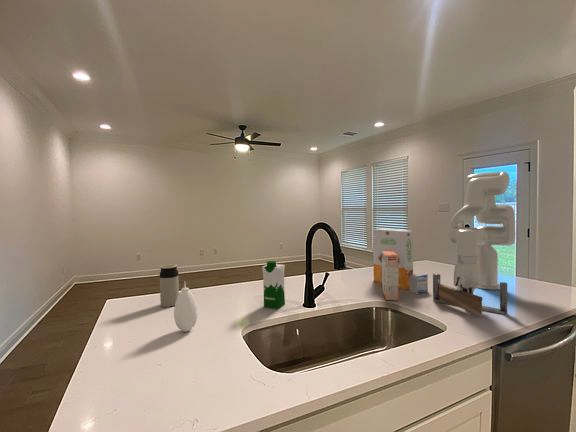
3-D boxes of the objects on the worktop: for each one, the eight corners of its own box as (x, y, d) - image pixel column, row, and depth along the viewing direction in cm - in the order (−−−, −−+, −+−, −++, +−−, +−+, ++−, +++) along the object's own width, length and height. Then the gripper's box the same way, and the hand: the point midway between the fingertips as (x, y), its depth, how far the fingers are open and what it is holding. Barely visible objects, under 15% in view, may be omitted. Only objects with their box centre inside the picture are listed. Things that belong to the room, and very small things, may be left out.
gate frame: (434, 299, 135) (434, 273, 134) (508, 312, 117) (507, 282, 116) (432, 301, 132) (432, 274, 132) (506, 314, 114) (506, 284, 113)
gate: (442, 298, 130) (441, 284, 130) (482, 314, 111) (482, 297, 111) (438, 299, 130) (438, 284, 130) (478, 314, 110) (478, 297, 110)
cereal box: (413, 288, 153) (412, 230, 152) (404, 289, 151) (404, 231, 150) (381, 279, 173) (381, 228, 173) (373, 280, 171) (372, 229, 170)
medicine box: (417, 294, 143) (417, 276, 143) (409, 291, 147) (409, 274, 147) (428, 291, 147) (428, 274, 146) (420, 289, 151) (420, 272, 150)
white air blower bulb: (184, 337, 100) (182, 284, 100) (170, 332, 104) (168, 282, 104) (202, 328, 107) (200, 279, 106) (188, 324, 111) (186, 277, 111)
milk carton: (260, 307, 128) (259, 262, 128) (270, 301, 136) (269, 258, 136) (278, 310, 125) (277, 263, 124) (287, 303, 133) (286, 259, 132)
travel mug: (182, 304, 135) (181, 265, 135) (165, 308, 130) (164, 268, 129) (174, 300, 141) (173, 263, 140) (157, 305, 135) (156, 266, 135)
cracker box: (399, 301, 133) (398, 255, 132) (385, 300, 134) (384, 255, 133) (394, 292, 147) (394, 250, 146) (381, 291, 148) (381, 250, 147)
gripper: (470, 256, 127) (470, 298, 128) (446, 259, 121) (446, 303, 122) (488, 259, 120) (488, 303, 121) (463, 262, 114) (463, 309, 115)
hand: (467, 303), depth 121 cm, fingers closed
